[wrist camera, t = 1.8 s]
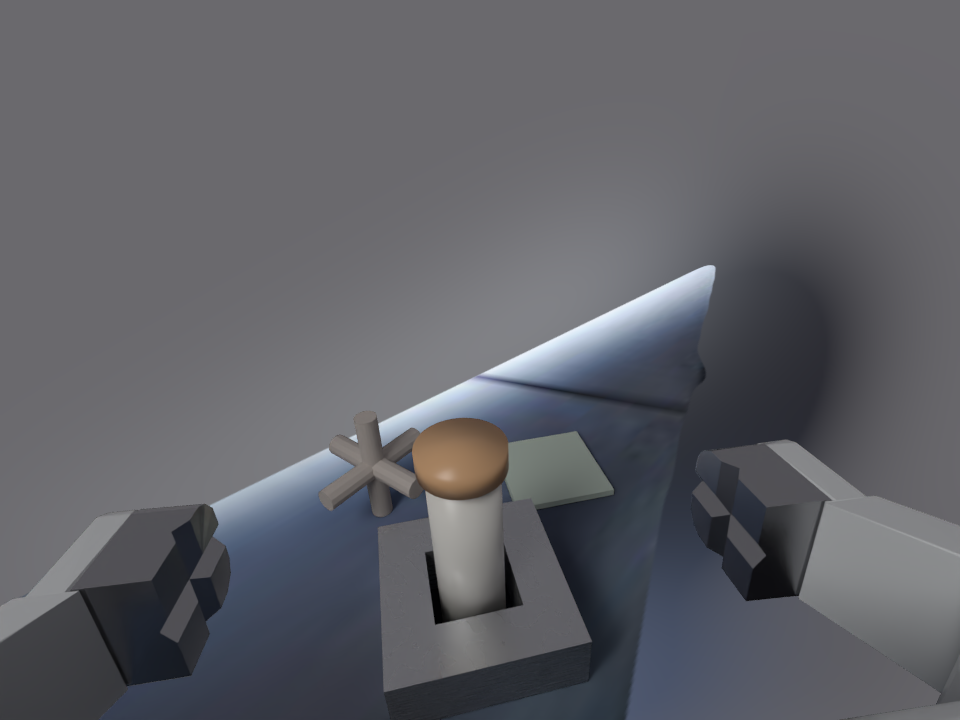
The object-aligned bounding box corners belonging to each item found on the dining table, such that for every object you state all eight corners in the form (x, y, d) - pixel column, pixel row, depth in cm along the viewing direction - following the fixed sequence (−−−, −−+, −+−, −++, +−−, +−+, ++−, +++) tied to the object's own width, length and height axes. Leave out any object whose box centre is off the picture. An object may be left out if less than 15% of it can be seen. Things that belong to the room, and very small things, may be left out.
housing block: (393, 731, 29) (383, 692, 27) (385, 563, 39) (377, 527, 37) (588, 681, 31) (592, 641, 29) (530, 534, 41) (531, 498, 39)
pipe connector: (385, 458, 51) (370, 374, 46) (460, 499, 45) (452, 407, 40) (301, 519, 44) (274, 427, 39) (378, 576, 38) (357, 476, 33)
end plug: (441, 662, 32) (417, 486, 25) (431, 590, 37) (408, 425, 30) (521, 642, 33) (519, 468, 26) (502, 575, 38) (495, 412, 31)
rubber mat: (517, 513, 43) (516, 508, 43) (493, 450, 51) (493, 445, 51) (613, 494, 45) (614, 489, 44) (576, 435, 52) (576, 431, 52)
